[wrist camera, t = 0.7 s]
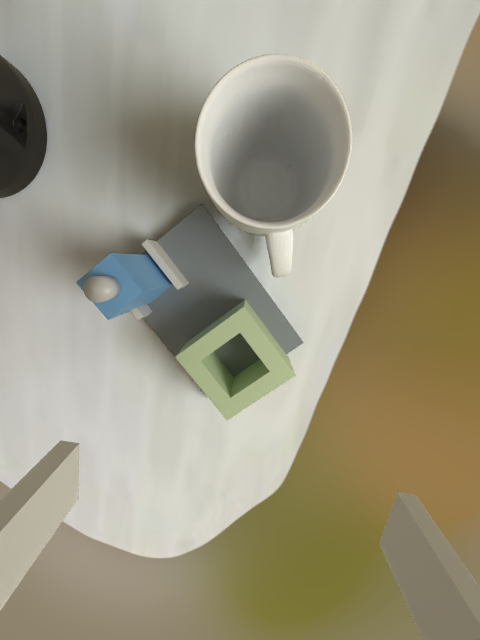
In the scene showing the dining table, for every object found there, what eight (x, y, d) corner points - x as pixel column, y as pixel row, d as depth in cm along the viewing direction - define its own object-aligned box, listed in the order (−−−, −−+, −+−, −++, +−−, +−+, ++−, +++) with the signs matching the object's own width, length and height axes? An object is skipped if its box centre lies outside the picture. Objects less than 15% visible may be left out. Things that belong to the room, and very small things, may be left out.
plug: (128, 275, 33) (59, 284, 21) (153, 255, 32) (97, 252, 20) (150, 302, 33) (95, 325, 22) (175, 282, 33) (132, 295, 21)
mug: (322, 265, 33) (365, 269, 20) (232, 281, 34) (219, 294, 21) (306, 128, 30) (346, 31, 17) (208, 150, 31) (177, 72, 18)
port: (187, 342, 34) (175, 357, 29) (245, 299, 33) (243, 306, 27) (230, 396, 35) (226, 420, 30) (288, 357, 34) (295, 375, 29)
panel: (117, 278, 34) (97, 281, 30) (204, 206, 32) (196, 197, 28) (214, 397, 37) (209, 416, 33) (301, 339, 35) (308, 350, 31)
